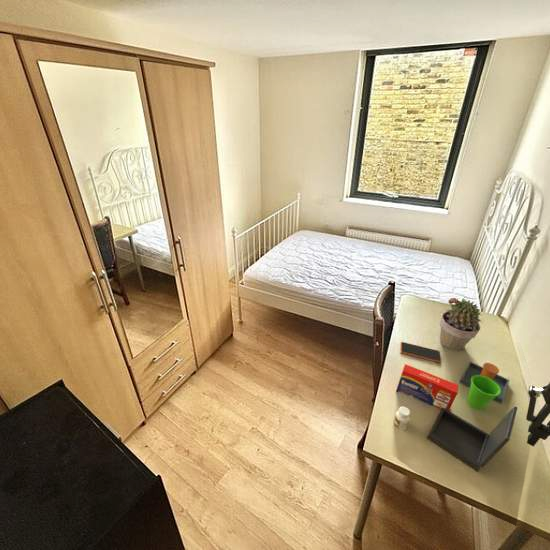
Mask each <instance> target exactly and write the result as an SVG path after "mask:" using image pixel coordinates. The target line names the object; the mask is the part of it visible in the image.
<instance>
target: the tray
mask: <svg viewBox="0 0 550 550" xmlns="http://www.w3.org/2000/svg"><path fill="white" fill-rule="evenodd" d="M482 369H483V366H480V365H479V364H476V363H474V362H472V361H469V362H468V365H467V366H466V369H465V371H464V373H463V375H462V377H461V379H460V381H459V384H462V385H464V386H466V387H468V388H469V389H470V387H471V378H472V377H473V376H475V375H480V373H481V371H482ZM493 381H495V382H496V383H497V384H498V385H499V387H500V389H501V393H500V394H499V395H498V396H496V397H495V398H494V399H493V400H492V401H495V402H497V403H498V404H502V403H503V402H504V400H505V397H506V393H507V390H508V387H509V383H510V379H509V378H506V377H504V376H502V375H500V374H499V373H498V374H496V375H495V377H494V379H493Z"/></svg>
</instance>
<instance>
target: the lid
mask: <svg viewBox="0 0 550 550" xmlns="http://www.w3.org/2000/svg"><path fill="white" fill-rule="evenodd" d="M517 411H518V407H517V406H516V405H514V406H513V407H512V408H511V409H510V410H509V411H508V412H507V414H506V415H505V416H504V417H503V418H502V419H501V420H500V421H499V422H498V423H497V425H496V426H495V427H494V428H493V429H492V430H491V431H490V432H489V433H488V434H489V438H488V441H487V444H486V447H485V450H484V453H483V456H482V460H481V463H480V466H481V467H480V468H484V467H485V466H486V464H488V463H489V462H490V460H491V459H493V457H494V456H496V454H497V453H499V452H500V450H501V449H503V448H504V447H505V446H506V444H507V443H508V442H510V440H511V435H512V431H513V428H514V424H515V419H516V415H517Z"/></svg>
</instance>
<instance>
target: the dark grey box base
mask: <svg viewBox="0 0 550 550" xmlns="http://www.w3.org/2000/svg"><path fill="white" fill-rule="evenodd" d="M489 434H490V433H487V432H486V431H484V430H482V429H481V428H479V427H477V426H475V425H474V424H472V423H470V422H469V421H467V420H465V419H463V418H462V417H460V416H458V415H456V414H455V413H453V412H452V411H450V410H449V411H448V410H446V409H445V408H443V407H442V409H440V410H439V413H438V415H437V416H436V419H435V421H434V422H433V425H432V426H431V428H430V431H429V433H428V435H427V437H426V439H427V440H429V441H430V442H431V443H433V444H434V445H436V446H438V447H439V448H441V449H442V450H443V451H444V452H446V453H448V454H449V455H451V456H452V457H454V458H455V459H457V460H459V461H460V462H462V463H463V464H464V465H466V466H468V467H469V468H470V469H472V470H473V471H475V472H476V473H477V472H479V470H480V469H481V468H482V467H481V466H480V463H481V460H482V456H483V453H484V450H485V447H486V444H487V441H488V438H489Z"/></svg>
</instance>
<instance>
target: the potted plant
mask: <svg viewBox="0 0 550 550" xmlns="http://www.w3.org/2000/svg"><path fill="white" fill-rule="evenodd" d="M447 301H448V302H447V303H448V304H449V306H450V309H449V308H448V309H447V310H446V309H445V310H446V311H445V312H441V311H440V313H442V314H441V316H440V320H439V327H440V333H439V335H440V336H439V340H440V343H441V345H442V346H443V347H445V348H447V349H449V350H452V351H457V352H458V351H461V350H463V349H464V348H465V347H466V346H467V344H469V342H470V341H472V339H475V338H476V337H477V335H478V333H479V332H481V333H482V331H481V325H480V322H481V323H482V324H483V323H484V322H483V319H480V318H479V316H480V315H482V314H481V312H480V310H481V309H480V308H479V306H478V304H477V303H475V301H471V300H470V299H469V300H468V301H467V299H465V298H462V299H461V301H460V298H456V297H452V298H449V300H447Z"/></svg>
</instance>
